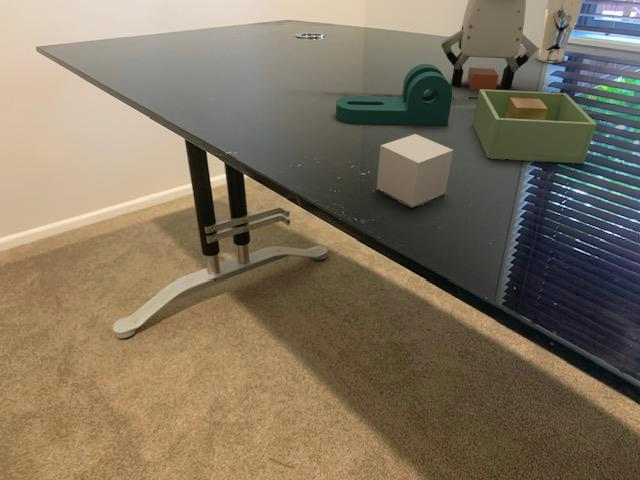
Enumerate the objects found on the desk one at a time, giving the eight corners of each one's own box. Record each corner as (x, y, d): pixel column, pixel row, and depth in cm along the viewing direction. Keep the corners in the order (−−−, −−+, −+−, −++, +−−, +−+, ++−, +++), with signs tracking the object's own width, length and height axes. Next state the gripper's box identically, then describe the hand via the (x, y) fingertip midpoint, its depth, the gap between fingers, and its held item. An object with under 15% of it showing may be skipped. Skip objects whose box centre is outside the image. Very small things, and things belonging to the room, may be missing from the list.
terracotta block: (489, 92, 96) (494, 68, 94) (493, 100, 92) (498, 75, 90) (465, 91, 96) (469, 67, 94) (468, 98, 93) (473, 74, 90)
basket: (555, 128, 81) (566, 93, 78) (583, 164, 70) (597, 124, 67) (472, 124, 82) (479, 89, 79) (487, 158, 71) (496, 119, 68)
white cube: (445, 195, 62) (453, 149, 59) (411, 209, 59) (418, 163, 56) (409, 177, 66) (415, 133, 63) (376, 189, 63) (380, 145, 59)
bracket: (439, 110, 87) (446, 64, 83) (447, 125, 81) (455, 76, 77) (335, 108, 87) (337, 62, 83) (336, 123, 81) (338, 73, 77)
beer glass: (566, 65, 113) (587, -9, 105) (533, 62, 115) (551, -11, 107) (565, 58, 119) (585, -13, 110) (534, 55, 121) (551, -15, 112)
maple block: (532, 126, 79) (540, 98, 77) (540, 137, 76) (548, 108, 73) (503, 125, 80) (510, 97, 77) (509, 136, 76) (516, 107, 73)
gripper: (547, -16, 87) (522, 86, 96) (445, -19, 88) (430, 82, 98) (560, -9, 80) (532, 99, 90) (450, -13, 82) (434, 94, 91)
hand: (480, 89), depth 94 cm, fingers open, 8 cm apart
